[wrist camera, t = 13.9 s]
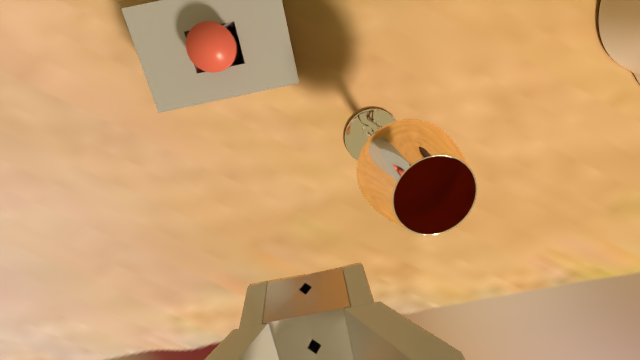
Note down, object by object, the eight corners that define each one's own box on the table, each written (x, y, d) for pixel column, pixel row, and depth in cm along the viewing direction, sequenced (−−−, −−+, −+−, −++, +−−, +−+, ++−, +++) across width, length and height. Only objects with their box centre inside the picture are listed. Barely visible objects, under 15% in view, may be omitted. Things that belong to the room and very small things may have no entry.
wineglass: (327, 159, 40) (356, 236, 23) (349, 90, 38) (400, 119, 21) (391, 177, 42) (463, 261, 25) (417, 111, 39) (516, 155, 22)
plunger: (241, 25, 34) (227, 16, 26) (251, 64, 35) (240, 67, 27) (205, 33, 34) (178, 26, 26) (216, 71, 35) (194, 76, 27)
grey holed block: (278, -7, 34) (276, -24, 27) (296, 77, 37) (299, 83, 29) (157, 18, 34) (121, 8, 26) (184, 100, 37) (158, 112, 29)
